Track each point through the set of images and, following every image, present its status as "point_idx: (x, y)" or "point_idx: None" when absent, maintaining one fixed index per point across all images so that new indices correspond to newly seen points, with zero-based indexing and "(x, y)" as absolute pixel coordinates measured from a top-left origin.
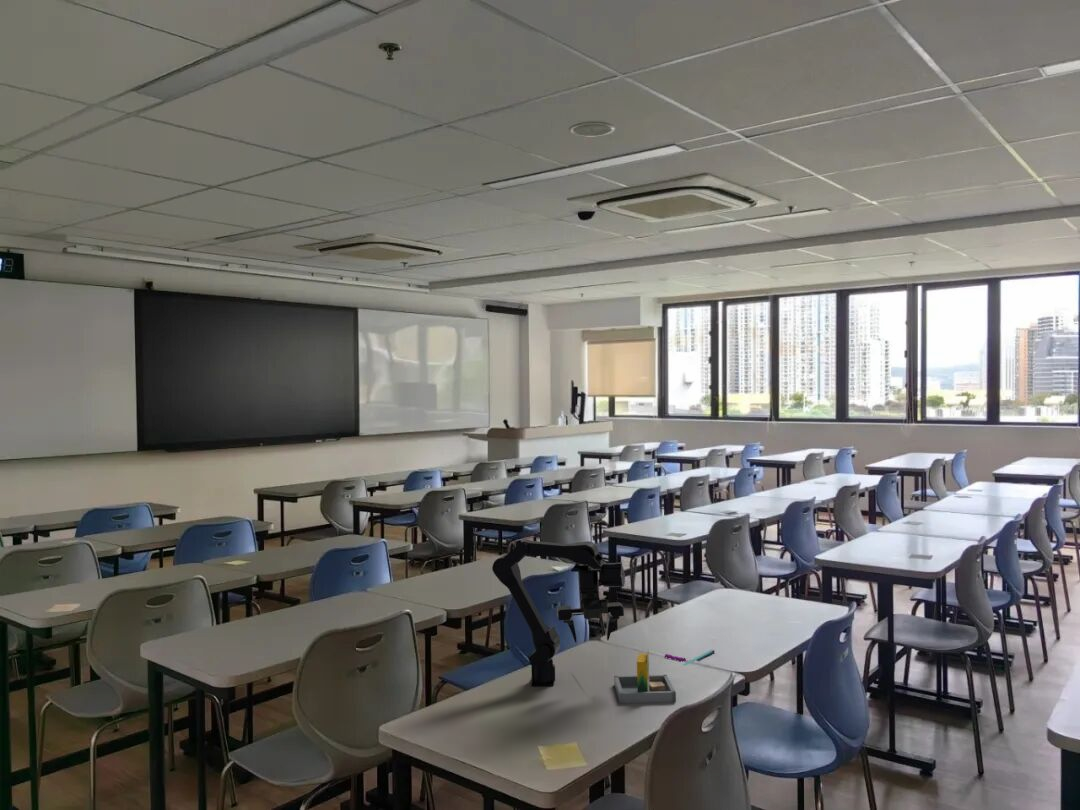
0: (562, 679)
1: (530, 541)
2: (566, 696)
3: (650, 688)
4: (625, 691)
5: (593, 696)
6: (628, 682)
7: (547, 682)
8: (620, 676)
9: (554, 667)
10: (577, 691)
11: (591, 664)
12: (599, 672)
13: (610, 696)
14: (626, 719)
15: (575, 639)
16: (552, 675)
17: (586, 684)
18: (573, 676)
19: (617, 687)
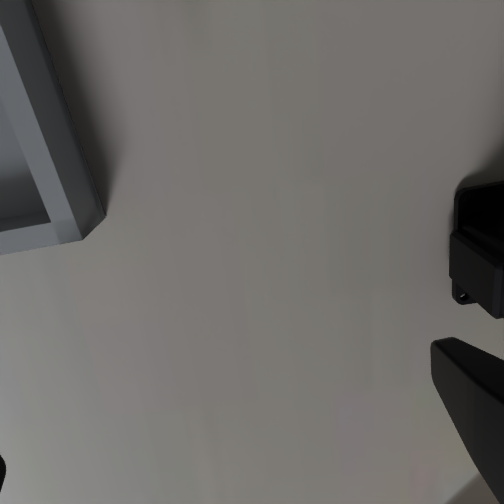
0: (400, 292)
1: None
2: (378, 12)
3: None
4: (5, 113)
5: (202, 35)
6: (6, 221)
7: (498, 201)
8: (38, 234)
9: (499, 266)
10: (311, 117)
11: (268, 474)
12: (220, 396)
13: (93, 49)
14: None
15: (474, 361)
16: (486, 234)
17: (267, 236)
18: (343, 336)
19: (6, 26)
